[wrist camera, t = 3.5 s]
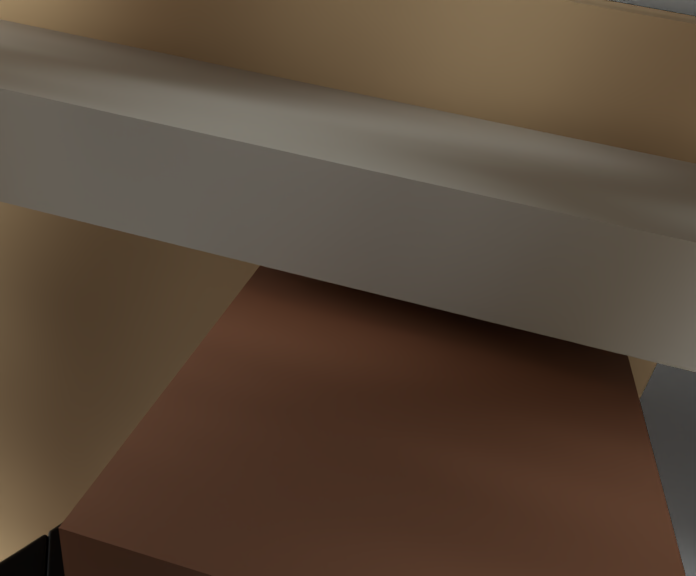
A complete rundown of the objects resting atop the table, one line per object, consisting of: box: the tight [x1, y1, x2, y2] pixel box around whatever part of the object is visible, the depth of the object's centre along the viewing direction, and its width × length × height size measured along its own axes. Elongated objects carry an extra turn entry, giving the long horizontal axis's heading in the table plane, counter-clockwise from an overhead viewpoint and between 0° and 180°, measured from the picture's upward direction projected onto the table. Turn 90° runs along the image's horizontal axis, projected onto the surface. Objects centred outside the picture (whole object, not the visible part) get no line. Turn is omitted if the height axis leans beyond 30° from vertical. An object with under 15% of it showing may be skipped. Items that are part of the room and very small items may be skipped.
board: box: [0, 0, 696, 562], centre depth 10 cm, size 16×14×4 cm
